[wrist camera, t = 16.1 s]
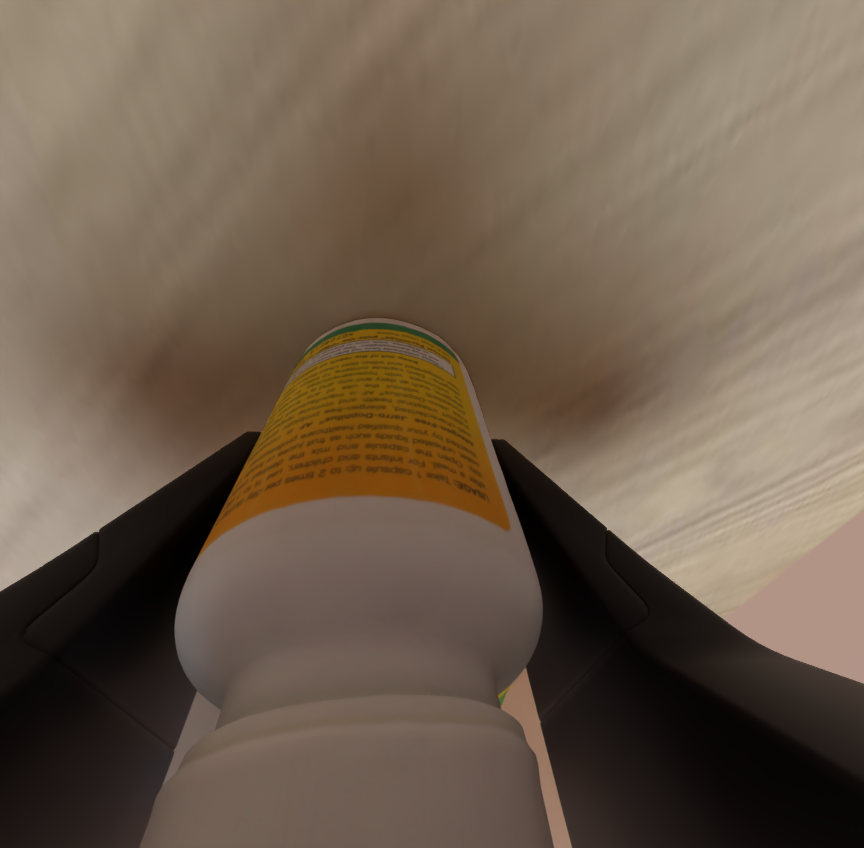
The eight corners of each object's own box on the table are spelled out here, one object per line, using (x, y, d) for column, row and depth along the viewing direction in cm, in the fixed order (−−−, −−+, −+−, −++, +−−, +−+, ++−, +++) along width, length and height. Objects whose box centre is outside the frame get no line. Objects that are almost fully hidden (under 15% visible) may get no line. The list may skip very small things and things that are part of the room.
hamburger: (489, 689, 28) (538, 964, 18) (465, 652, 23) (515, 1000, 13) (642, 658, 27) (780, 936, 17) (651, 611, 22) (853, 964, 12)
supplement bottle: (494, 420, 12) (681, 903, 4) (361, 481, 13) (311, 945, 5) (417, 271, 9) (571, 1039, 1) (252, 368, 10) (-243, 1071, 2)
